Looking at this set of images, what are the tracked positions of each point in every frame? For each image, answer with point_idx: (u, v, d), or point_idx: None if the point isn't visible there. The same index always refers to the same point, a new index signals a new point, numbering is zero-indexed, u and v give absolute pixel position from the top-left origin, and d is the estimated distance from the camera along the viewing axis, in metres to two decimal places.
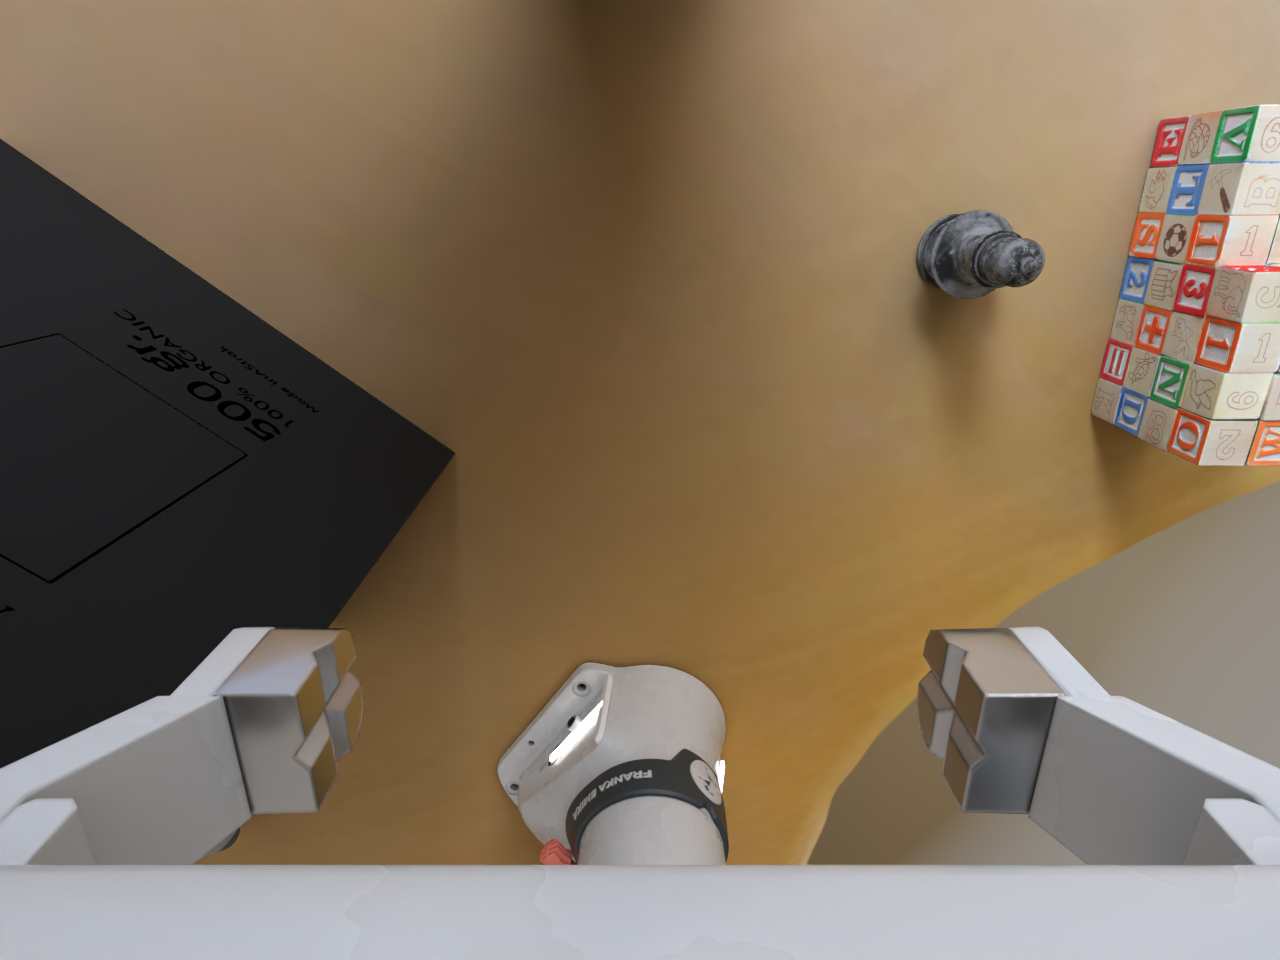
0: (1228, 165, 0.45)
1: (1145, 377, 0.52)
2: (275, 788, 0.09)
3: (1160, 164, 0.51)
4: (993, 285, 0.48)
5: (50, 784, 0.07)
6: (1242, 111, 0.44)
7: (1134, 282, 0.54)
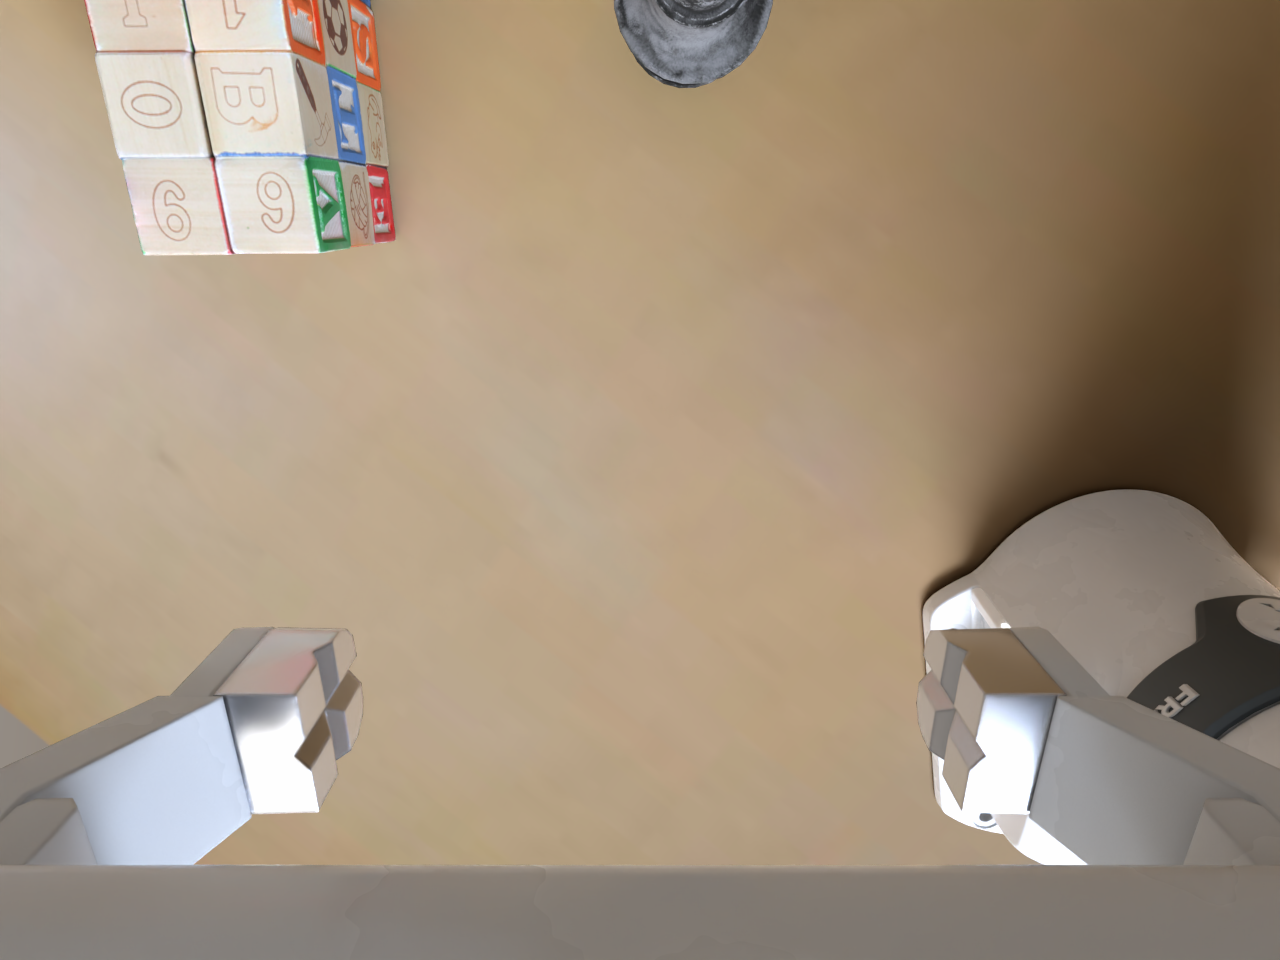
0: (321, 153, 0.25)
1: None
2: (275, 788, 0.09)
3: (379, 171, 0.31)
4: None
5: (50, 784, 0.07)
6: (333, 243, 0.26)
7: None
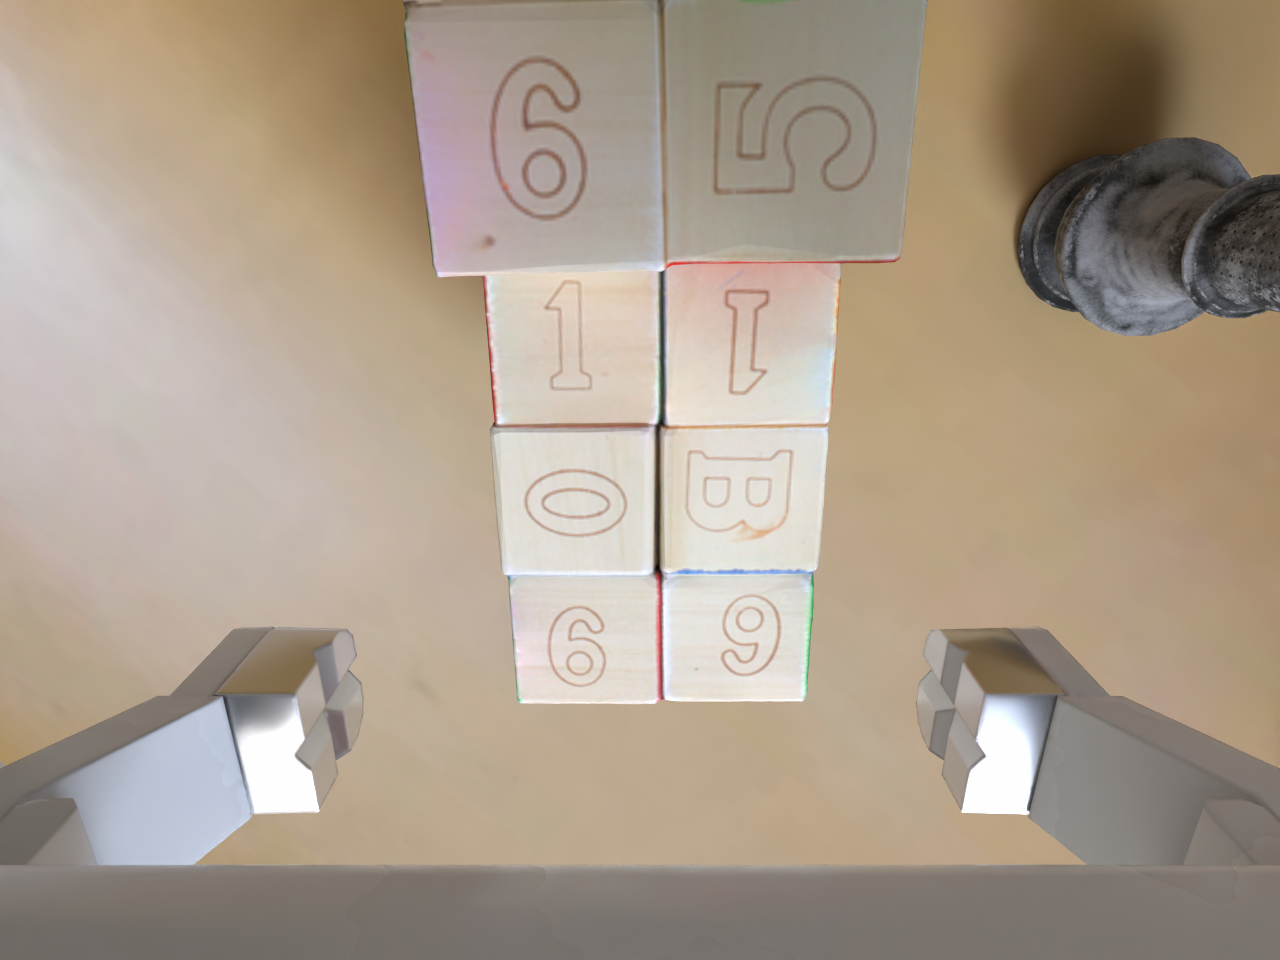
0: None
1: None
2: (275, 788, 0.09)
3: None
4: None
5: (50, 784, 0.07)
6: None
7: None
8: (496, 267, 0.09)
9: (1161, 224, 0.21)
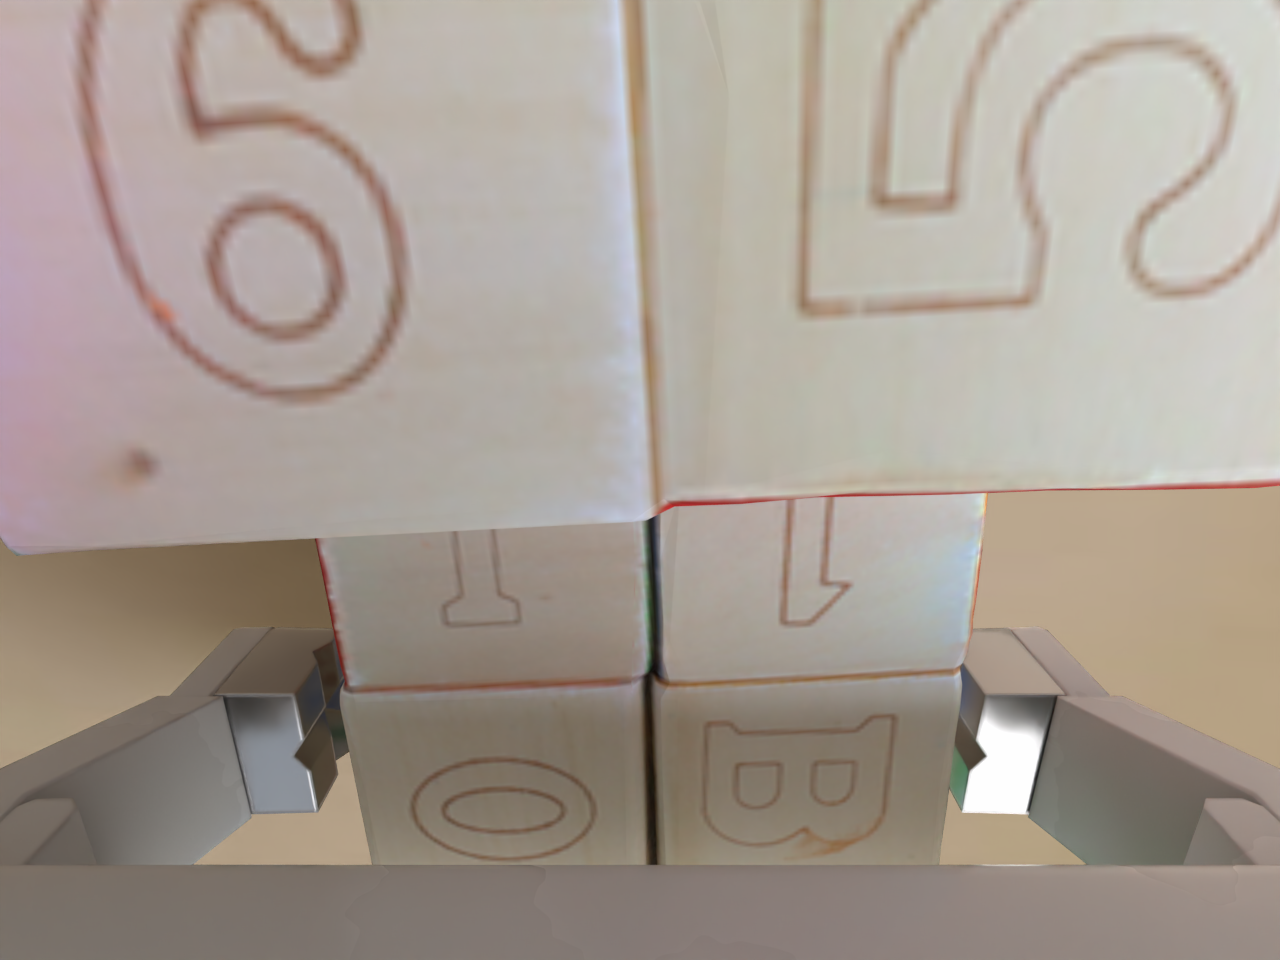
0: None
1: None
2: (275, 788, 0.09)
3: None
4: None
5: (51, 784, 0.07)
6: None
7: None
8: (170, 534, 0.03)
9: None
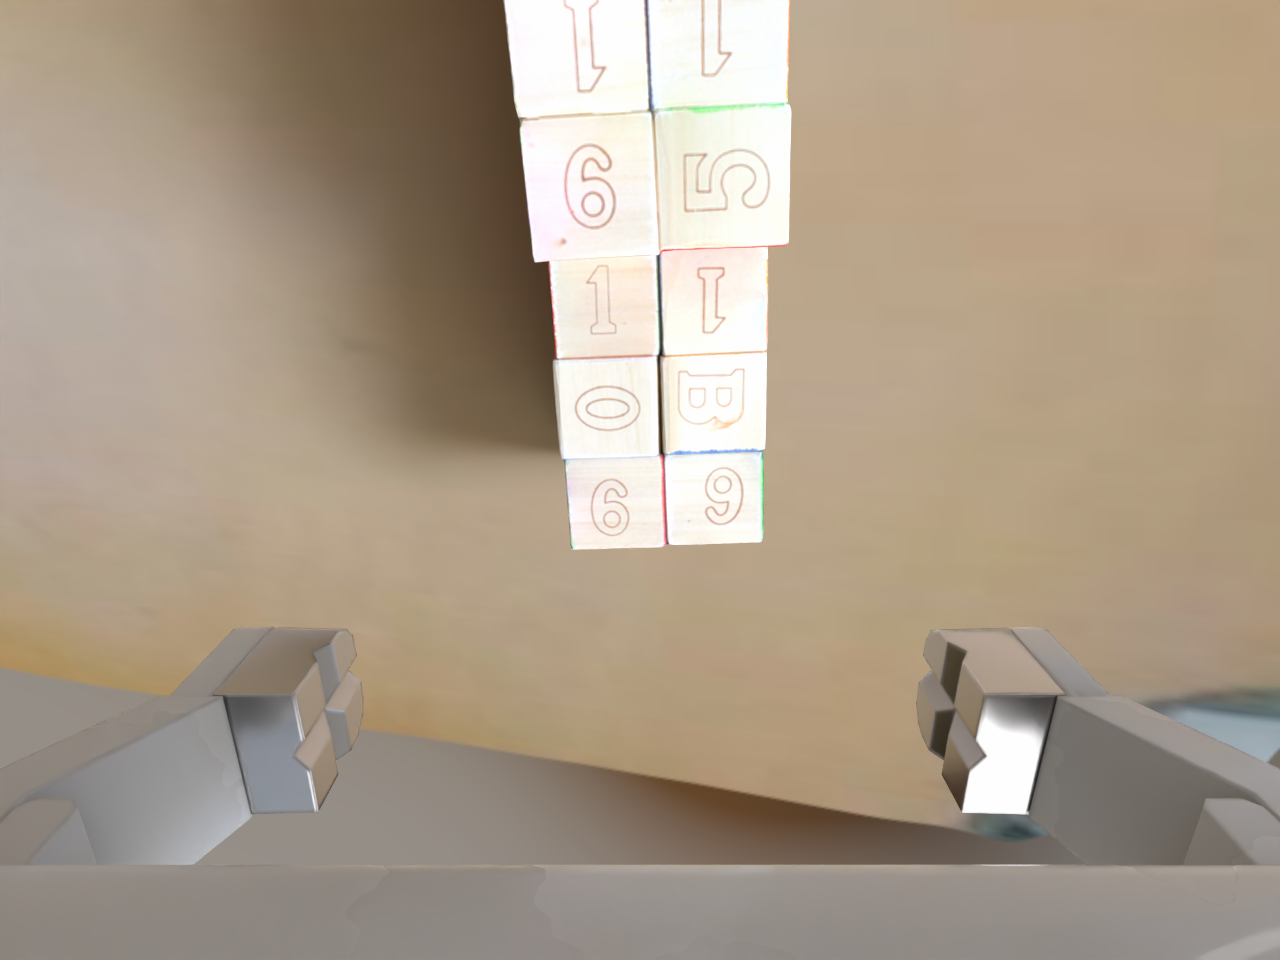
0: None
1: None
2: (275, 788, 0.09)
3: None
4: None
5: (50, 784, 0.07)
6: None
7: None
8: (567, 255, 0.17)
9: None
